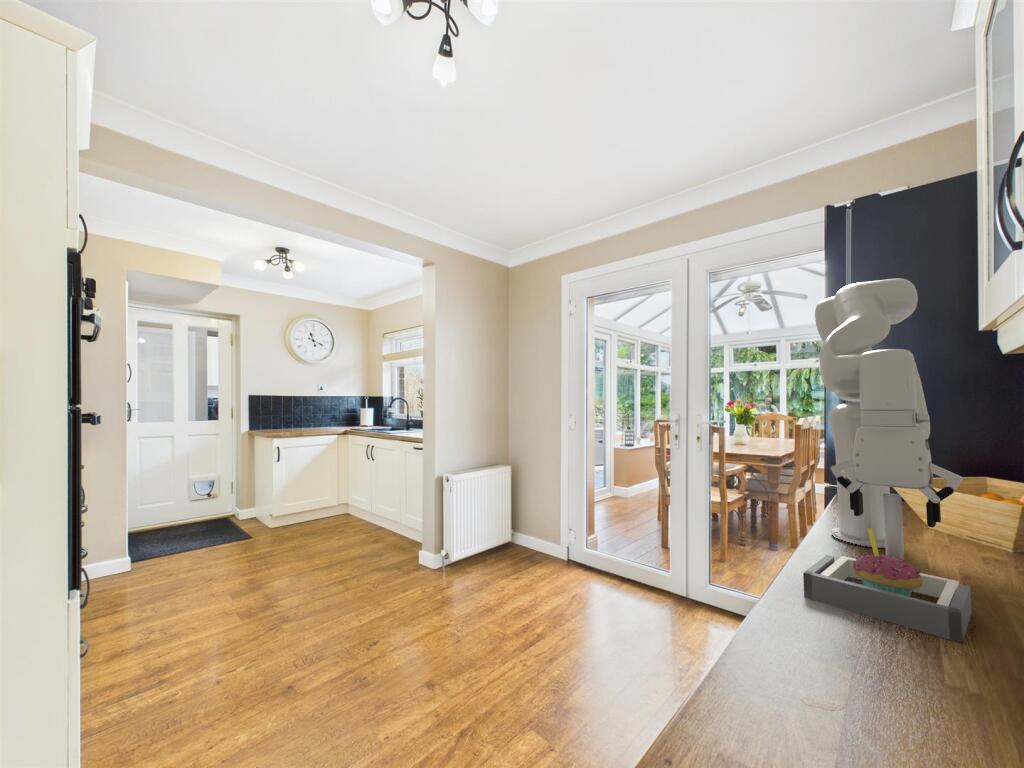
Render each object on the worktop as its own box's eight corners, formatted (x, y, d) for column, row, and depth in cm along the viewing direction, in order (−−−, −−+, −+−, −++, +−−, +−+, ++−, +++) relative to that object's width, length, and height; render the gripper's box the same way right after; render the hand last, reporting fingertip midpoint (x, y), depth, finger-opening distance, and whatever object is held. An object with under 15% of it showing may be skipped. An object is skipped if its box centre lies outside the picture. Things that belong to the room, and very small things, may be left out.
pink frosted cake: (851, 601, 71) (848, 526, 72) (857, 584, 77) (854, 515, 78) (924, 618, 65) (920, 537, 66) (923, 599, 72) (920, 524, 72)
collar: (843, 571, 82) (840, 487, 83) (960, 599, 70) (955, 501, 71) (817, 595, 73) (813, 500, 73) (948, 631, 61) (942, 518, 61)
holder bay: (827, 577, 81) (826, 554, 81) (971, 613, 67) (970, 586, 67) (804, 597, 73) (803, 572, 73) (962, 643, 59) (960, 612, 59)
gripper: (961, 421, 72) (967, 526, 71) (835, 419, 86) (839, 508, 85) (955, 422, 68) (962, 535, 67) (822, 420, 81) (827, 514, 80)
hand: (893, 520), depth 76 cm, fingers open, 9 cm apart
